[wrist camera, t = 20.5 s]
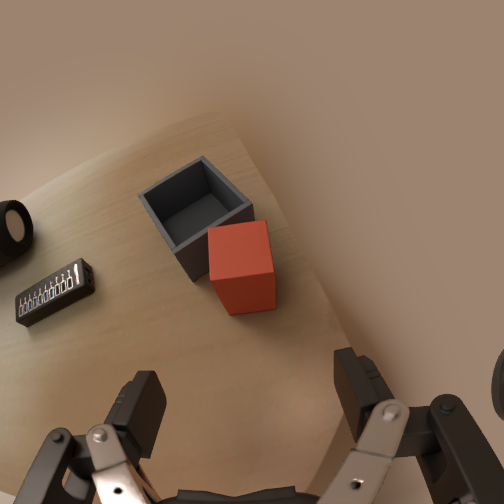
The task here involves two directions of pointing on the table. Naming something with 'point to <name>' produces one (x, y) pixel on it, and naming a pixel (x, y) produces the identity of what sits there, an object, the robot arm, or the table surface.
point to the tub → (194, 211)
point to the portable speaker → (14, 230)
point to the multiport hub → (54, 293)
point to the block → (242, 267)
